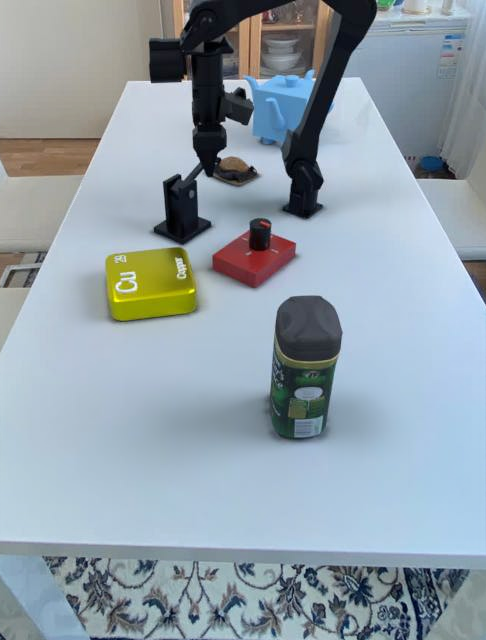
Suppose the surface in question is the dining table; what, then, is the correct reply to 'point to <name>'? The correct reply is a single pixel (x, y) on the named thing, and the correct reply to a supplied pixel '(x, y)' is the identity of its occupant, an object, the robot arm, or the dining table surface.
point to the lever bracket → (181, 213)
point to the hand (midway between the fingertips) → (209, 166)
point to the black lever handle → (189, 178)
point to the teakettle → (279, 105)
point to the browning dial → (259, 234)
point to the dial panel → (253, 259)
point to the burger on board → (234, 171)
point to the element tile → (150, 284)
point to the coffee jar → (303, 365)
